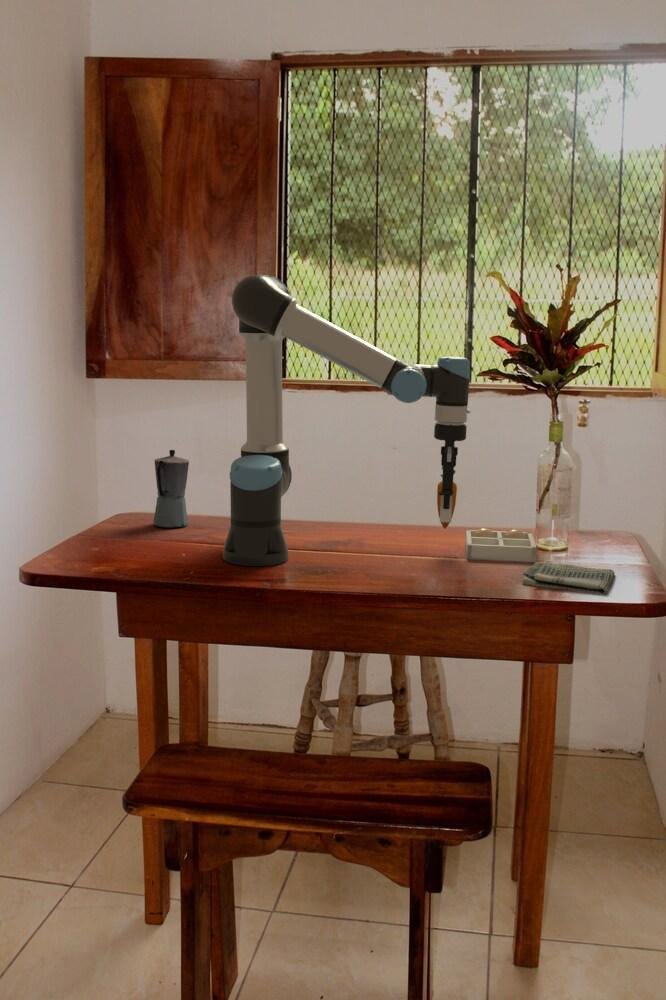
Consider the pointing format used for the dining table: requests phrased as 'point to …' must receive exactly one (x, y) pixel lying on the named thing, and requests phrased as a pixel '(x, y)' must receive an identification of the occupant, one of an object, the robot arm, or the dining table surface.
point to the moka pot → (171, 491)
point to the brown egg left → (484, 533)
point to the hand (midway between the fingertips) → (445, 519)
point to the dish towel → (569, 577)
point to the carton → (500, 547)
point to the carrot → (439, 489)
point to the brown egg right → (515, 534)
